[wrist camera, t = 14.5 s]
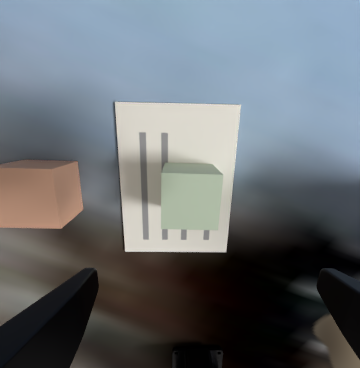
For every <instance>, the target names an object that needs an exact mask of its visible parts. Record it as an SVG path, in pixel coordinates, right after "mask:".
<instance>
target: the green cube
mask: <svg viewBox="0 0 360 368" xmlns="http://www.w3.org/2000/svg"><path fill="white" fill-rule="evenodd" d="M222 185H223V174H222V173H221V172H220V171H219V170H218V169H217V168H216V167H215V166H214V165H213V164H195V163H165V164H164V167H163V170H162V173H161V229H183V230H218V225H219V215H220V205H221V195H222Z"/></svg>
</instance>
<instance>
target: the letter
mask: <svg viewBox="0 0 360 368" xmlns="http://www.w3.org/2000/svg"><path fill="white" fill-rule="evenodd" d="M240 108H241V105H226V104H183V103H139V102H115V111H116V125H117V140H118V155H119V169H120V184H121V198H122V213H123V227H124V242H125V252H226V249H227V239H228V229H229V219H230V209H231V199H232V189H233V179H234V169H235V158H236V148H237V138H238V128H239V118H240ZM165 163H195V164H213V165H214V166H215V167H216V168H217V169H218V170H219V171H220V172H221V173H222V174H223V185H222V195H221V205H220V215H219V225H218V230H183V229H161V173H162V170H163V167H164V164H165Z"/></svg>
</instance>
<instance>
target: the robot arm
mask: <svg viewBox="0 0 360 368" xmlns="http://www.w3.org/2000/svg"><path fill="white" fill-rule="evenodd" d="M98 288H99V284H98V276H97V270H96V268H84V269H83V270H81V271H80V272H78V273H77V274H75V275H74V276H73V277H71V278H70V279H68V280H67V281H65V282H64V283H62V284H61V285H60V286H58V287H57V288H55V289H54V290H52V291H51V292H49V293H48V294H46V295H45V296H44V297H42V298H41V299H39V300H38V301H36V302H35V303H33V304H32V305H31V306H29V307H28V308H26V309H25V310H23V311H22V312H20V313H19V314H17V315H16V316H15V317H13V318H12V319H10V320H9V321H7V322H6V323H4V324H3V325H2V326H0V368H70V365H71V363H72V361H73V358H74V356H75V354H76V351H77V349H78V347H79V345H80V342H81V340H82V337H83V335H84V332H85V329H86V326H87V323H88V320H89V317H90V314H91V311H92V308H93V305H94V302H95V299H96V295H97V292H98ZM317 290H318V292H319V294H320V296H321V298H322V299H323V301H324V303H325V305H326V306H327V308H328V310H329V312H330V313H331V315H332V317H333V319H334V320H335V322H336V324H337V326H338V327H339V329H340V330H341V332H342V334H343V336H344V337H345V338H346V340H347V342H348V343H349V345H350V346H351V348H352V349H353V351H354V352H355V353H356V355H357V356H358V358H359V359H360V281H358V280H356V279H354V278H352V277H350V276H347V275H345V274H343V273H341V272H339V271H337V270H335V269H331V268H324V269H321V271H320V274H319V277H318V281H317ZM222 358H223V350H222V348H221V347H175V348H173V352H172V368H221V367H222Z"/></svg>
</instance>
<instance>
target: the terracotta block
mask: <svg viewBox="0 0 360 368" xmlns="http://www.w3.org/2000/svg"><path fill="white" fill-rule="evenodd" d="M82 210H83V204H82V195H81V187H80V178H79V169H78V161H56V160H19V161H14V162H9V163H4V164H0V227H6V228H56V229H61V228H62V227H64V226H65V225H66V224H67V223H68V222H69V221H71V220H72V219H73V218H74V217H75V216H76V215H78V214H79V213H80V212H81V211H82Z"/></svg>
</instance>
